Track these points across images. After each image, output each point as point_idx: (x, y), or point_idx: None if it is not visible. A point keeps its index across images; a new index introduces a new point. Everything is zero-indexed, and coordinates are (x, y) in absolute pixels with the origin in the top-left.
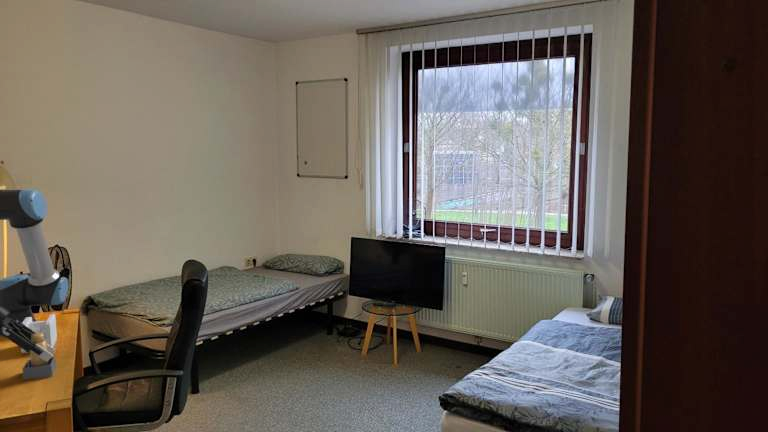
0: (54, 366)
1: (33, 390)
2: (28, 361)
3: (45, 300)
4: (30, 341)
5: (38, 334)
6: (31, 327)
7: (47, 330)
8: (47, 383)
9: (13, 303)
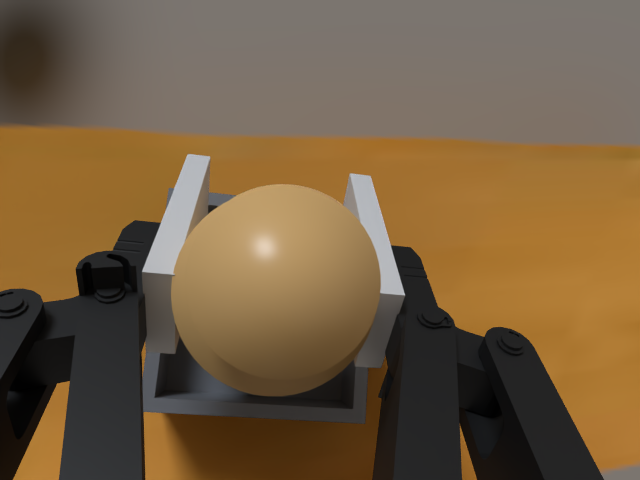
0: None
1: (558, 323)
2: (184, 399)
3: None
4: (442, 364)
5: (294, 260)
6: None
7: None
8: (471, 251)
9: None
